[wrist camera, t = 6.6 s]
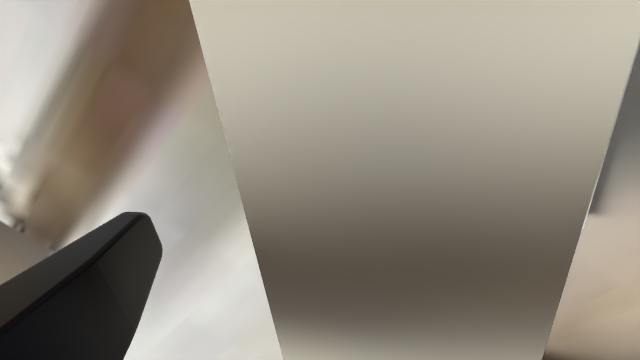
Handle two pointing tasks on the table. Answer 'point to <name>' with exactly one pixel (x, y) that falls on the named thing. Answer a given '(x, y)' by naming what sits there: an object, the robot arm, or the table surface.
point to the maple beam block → (416, 163)
